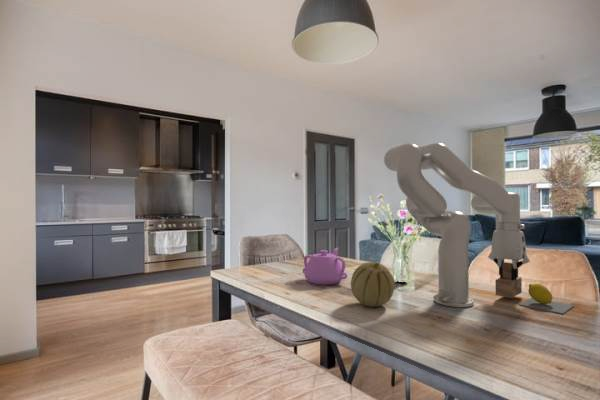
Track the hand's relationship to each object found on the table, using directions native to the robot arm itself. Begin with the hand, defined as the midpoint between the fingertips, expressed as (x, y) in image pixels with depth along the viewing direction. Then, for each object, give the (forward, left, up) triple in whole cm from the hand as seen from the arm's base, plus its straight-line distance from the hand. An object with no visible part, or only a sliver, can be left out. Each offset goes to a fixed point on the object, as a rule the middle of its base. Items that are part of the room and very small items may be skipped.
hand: (508, 278), depth 125 cm
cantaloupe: (-43, +27, -8) cm, 51 cm away
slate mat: (0, -11, -7) cm, 14 cm away
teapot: (-30, +63, -8) cm, 70 cm away
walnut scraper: (0, 0, -6) cm, 6 cm away
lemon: (-1, -7, -1) cm, 7 cm away
